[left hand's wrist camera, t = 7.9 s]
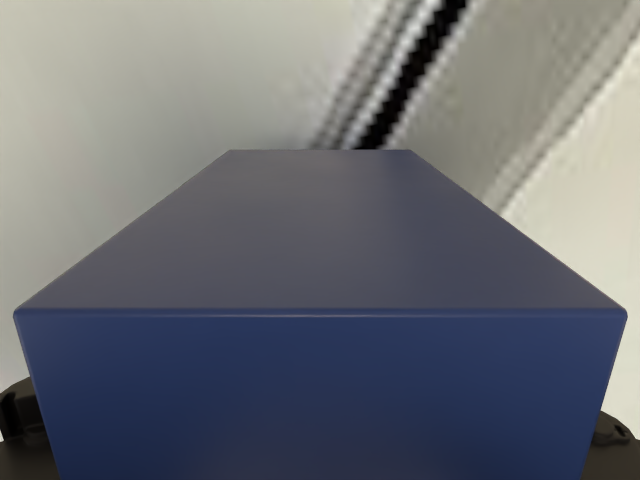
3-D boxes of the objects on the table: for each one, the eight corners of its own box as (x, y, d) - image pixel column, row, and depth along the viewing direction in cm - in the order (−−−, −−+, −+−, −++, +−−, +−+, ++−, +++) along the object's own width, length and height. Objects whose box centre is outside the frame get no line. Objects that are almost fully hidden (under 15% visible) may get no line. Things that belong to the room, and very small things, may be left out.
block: (243, 355, 19) (135, 745, 8) (228, 149, 16) (6, 311, 5) (396, 355, 19) (504, 744, 8) (411, 149, 16) (634, 311, 5)
